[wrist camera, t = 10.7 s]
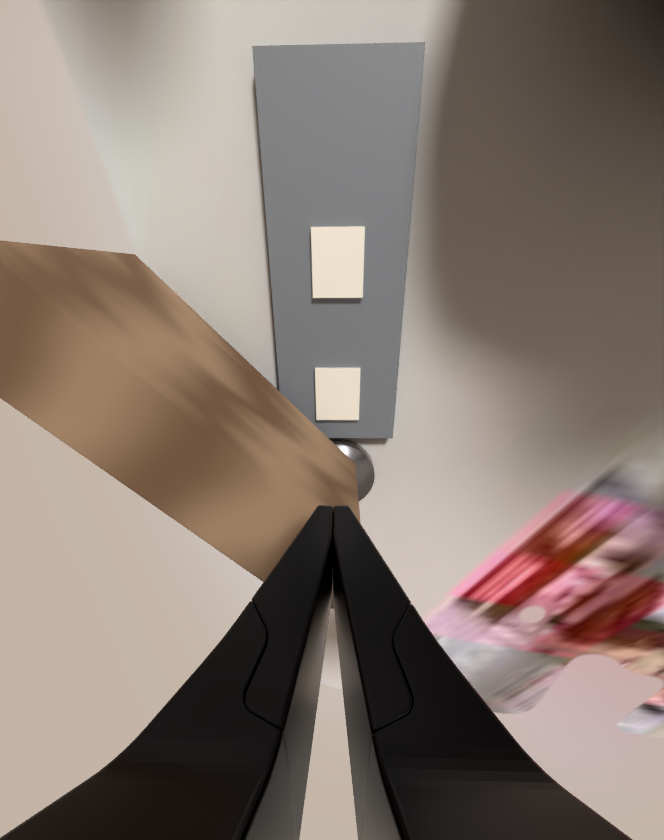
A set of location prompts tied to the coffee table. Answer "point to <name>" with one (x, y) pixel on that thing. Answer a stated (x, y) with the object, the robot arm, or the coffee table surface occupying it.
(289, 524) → the block
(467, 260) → the coffee table surface
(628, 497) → the coffee table surface
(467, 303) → the coffee table surface
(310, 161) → the label board
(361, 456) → the hinge base
